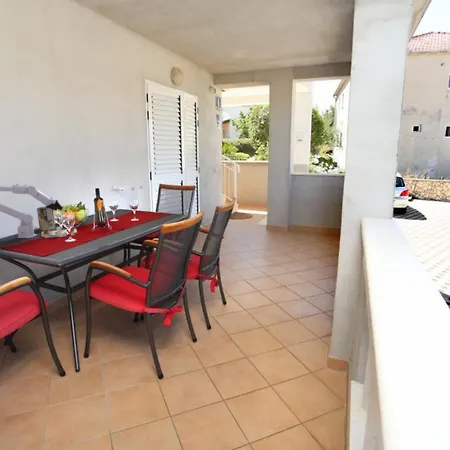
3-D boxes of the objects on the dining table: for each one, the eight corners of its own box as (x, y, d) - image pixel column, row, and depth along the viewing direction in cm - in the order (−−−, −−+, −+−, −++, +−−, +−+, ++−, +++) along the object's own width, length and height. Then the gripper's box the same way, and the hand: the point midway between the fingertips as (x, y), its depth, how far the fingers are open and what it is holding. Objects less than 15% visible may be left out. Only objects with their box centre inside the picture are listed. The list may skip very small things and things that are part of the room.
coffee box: (55, 228, 251) (53, 207, 248) (49, 230, 245) (46, 208, 242) (45, 227, 254) (43, 206, 250) (39, 229, 248) (36, 207, 244)
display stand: (41, 236, 228) (40, 230, 227) (41, 233, 237) (41, 227, 236) (76, 233, 238) (76, 227, 237) (76, 230, 246) (75, 224, 245)
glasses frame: (44, 238, 224) (43, 229, 223) (44, 237, 228) (43, 228, 226) (74, 235, 232) (73, 226, 230) (74, 234, 235) (73, 225, 234)
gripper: (50, 192, 228) (67, 204, 237) (41, 194, 238) (57, 205, 246) (44, 200, 225) (62, 212, 234) (35, 202, 235) (52, 213, 243)
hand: (59, 209), depth 240 cm, fingers open, 7 cm apart
